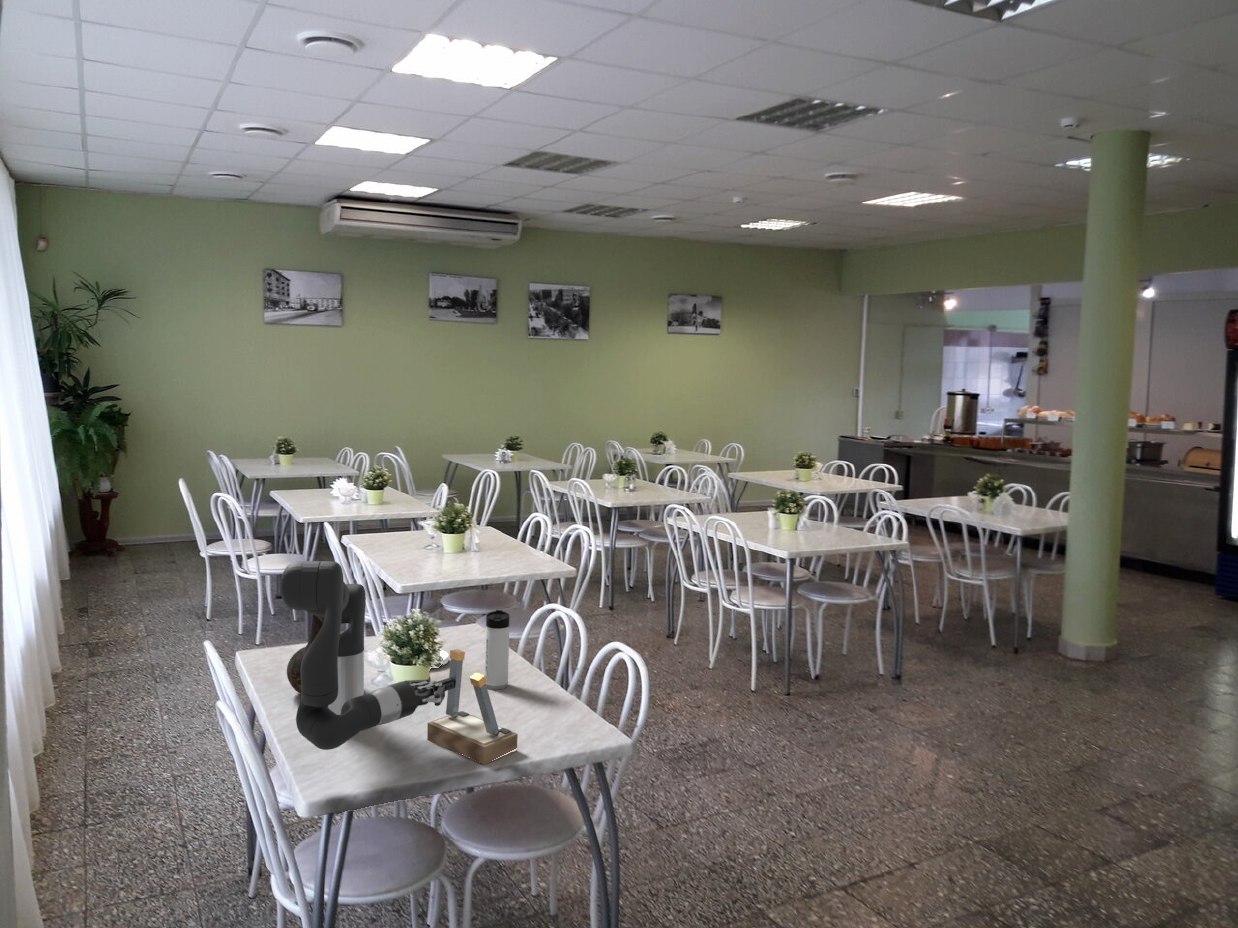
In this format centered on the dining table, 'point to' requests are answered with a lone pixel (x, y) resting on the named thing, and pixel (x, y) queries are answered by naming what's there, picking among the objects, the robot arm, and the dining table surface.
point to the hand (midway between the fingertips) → (452, 682)
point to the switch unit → (471, 737)
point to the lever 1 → (455, 682)
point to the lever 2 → (484, 703)
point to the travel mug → (497, 650)
